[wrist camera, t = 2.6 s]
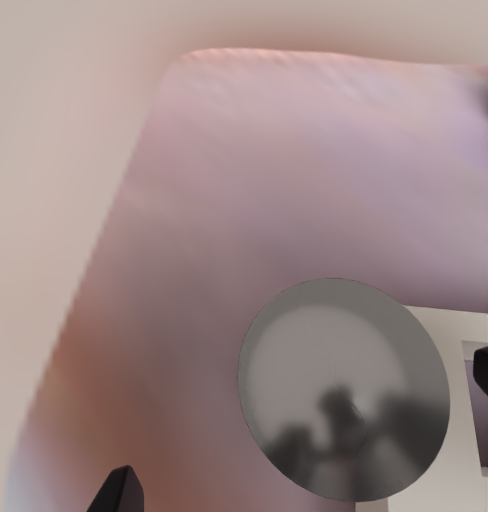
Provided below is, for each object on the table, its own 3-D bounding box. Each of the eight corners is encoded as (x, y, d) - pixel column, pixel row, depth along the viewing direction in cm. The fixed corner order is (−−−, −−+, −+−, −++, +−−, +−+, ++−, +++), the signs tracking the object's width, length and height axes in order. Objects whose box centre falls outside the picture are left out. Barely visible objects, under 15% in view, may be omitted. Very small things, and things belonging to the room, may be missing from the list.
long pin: (310, 436, 15) (466, 518, 4) (246, 428, 16) (223, 483, 4) (312, 369, 17) (436, 287, 5) (252, 362, 17) (249, 269, 6)
